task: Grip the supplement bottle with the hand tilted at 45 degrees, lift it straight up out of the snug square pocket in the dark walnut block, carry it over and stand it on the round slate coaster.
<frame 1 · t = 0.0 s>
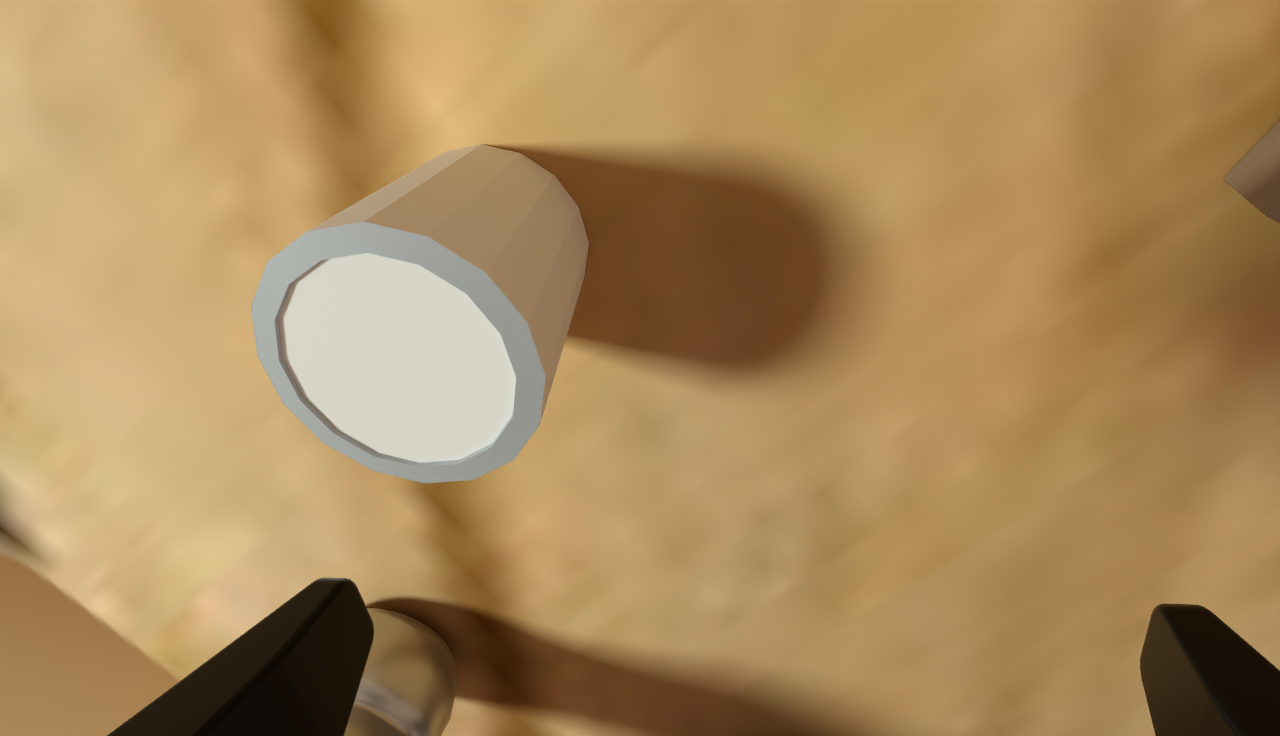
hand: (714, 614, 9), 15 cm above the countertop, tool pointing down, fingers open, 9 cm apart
shot glass: (497, 236, 24), on the countertop
plastic bottle: (401, 635, 35), on the countertop
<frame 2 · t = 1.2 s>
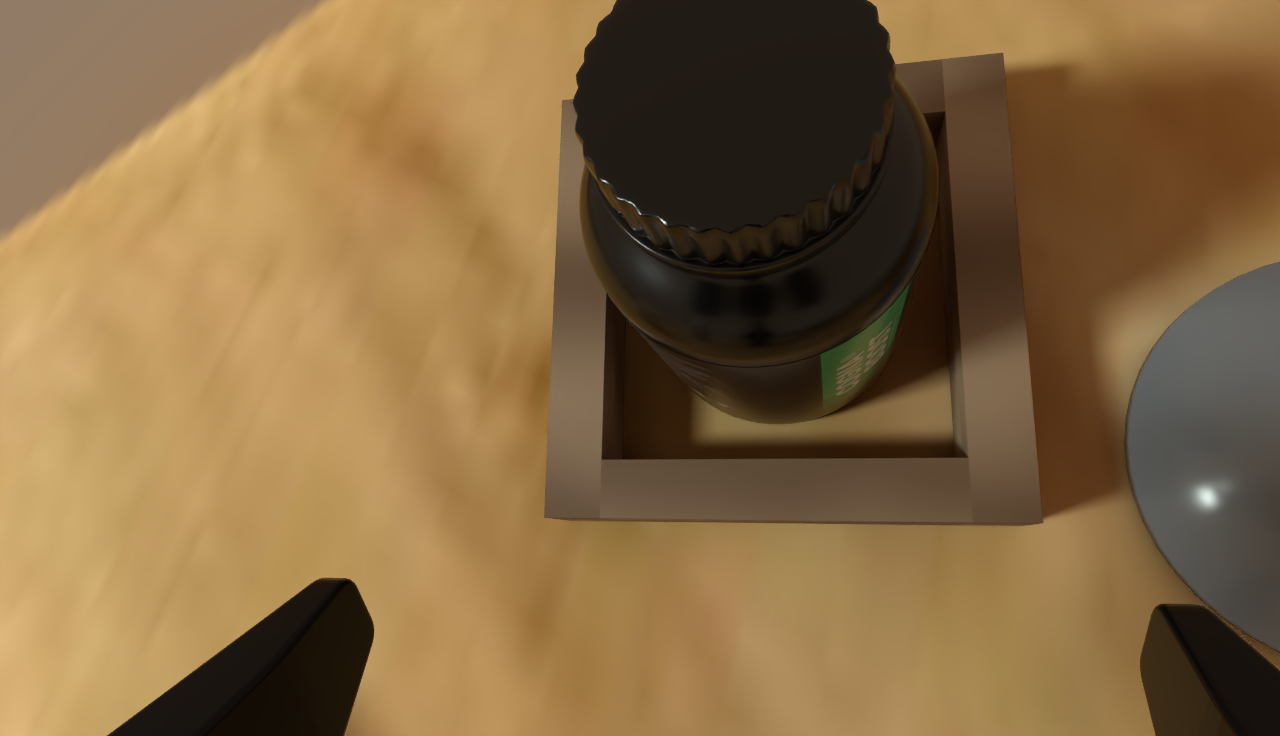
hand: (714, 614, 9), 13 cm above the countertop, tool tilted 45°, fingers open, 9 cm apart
pocket block: (778, 309, 23), on the countertop
supplement bottle: (778, 311, 24), resting in pocket block
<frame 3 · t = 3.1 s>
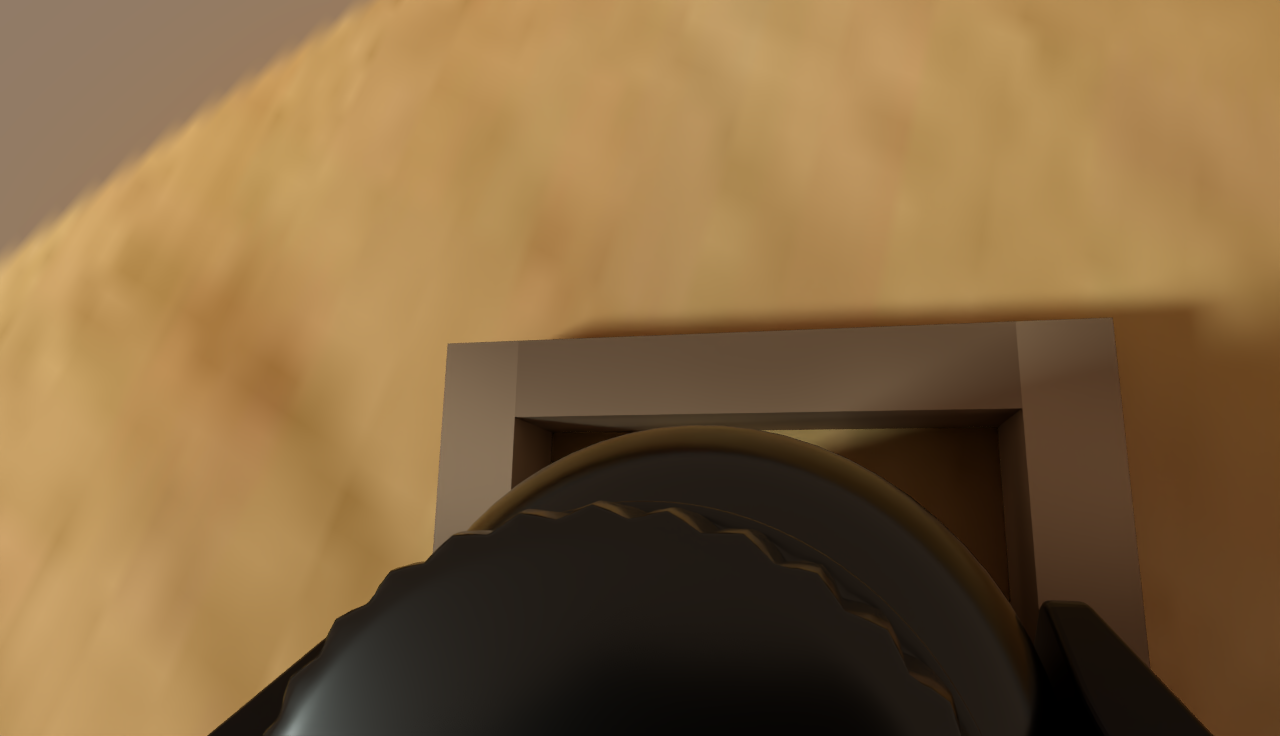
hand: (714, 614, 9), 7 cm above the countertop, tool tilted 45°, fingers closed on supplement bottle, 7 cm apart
pocket block: (764, 661, 16), on the countertop
supplement bottle: (765, 660, 16), resting in pocket block, touching gripper
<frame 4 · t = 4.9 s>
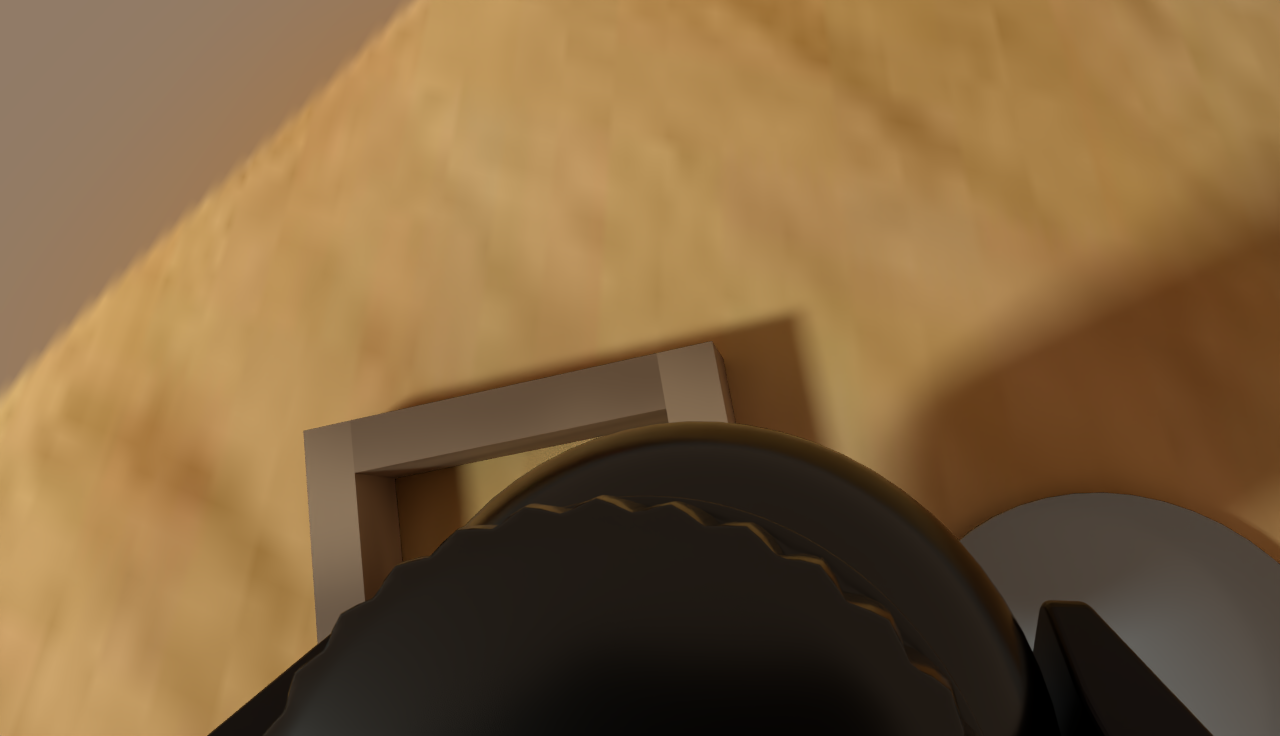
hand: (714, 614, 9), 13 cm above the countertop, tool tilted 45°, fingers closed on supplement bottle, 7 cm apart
pocket block: (554, 607, 23), on the countertop
slate coaster: (1112, 704, 20), on the countertop
supplement bottle: (756, 655, 16), point 6 cm above the countertop, touching gripper
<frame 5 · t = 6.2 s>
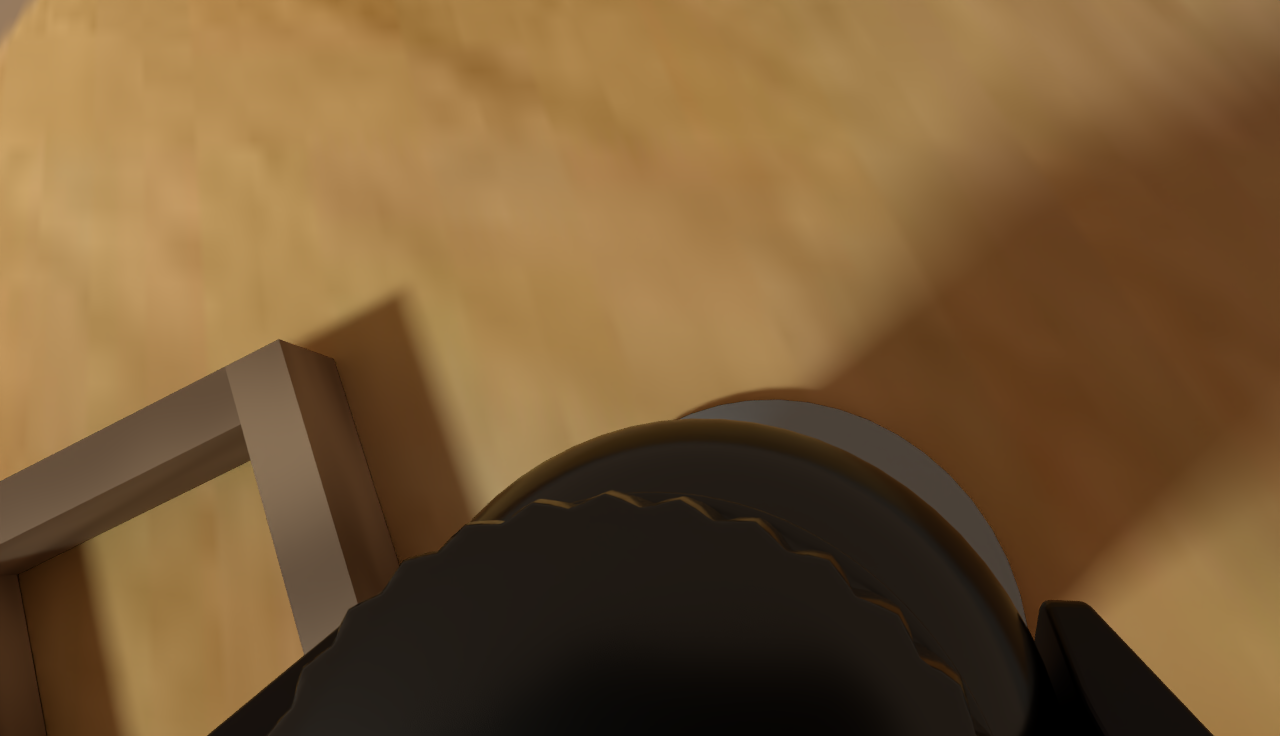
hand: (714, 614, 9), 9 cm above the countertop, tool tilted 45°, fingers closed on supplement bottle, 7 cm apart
pocket block: (194, 676, 20), on the countertop
slate coaster: (771, 635, 17), on the countertop
supplement bottle: (758, 654, 16), point 1 cm above the countertop, touching gripper
when the fingers open (8 cm above the countertop, at t = 6.8 s): supplement bottle stays where it is, resting on slate coaster.
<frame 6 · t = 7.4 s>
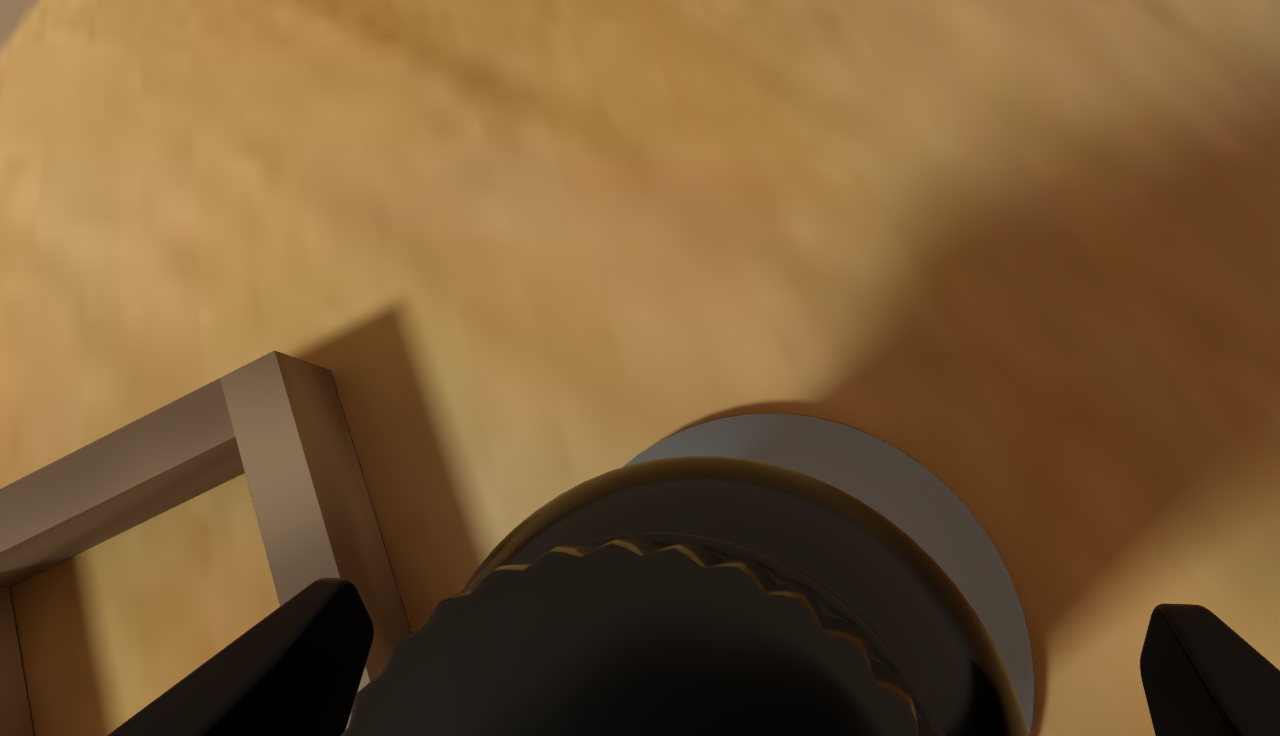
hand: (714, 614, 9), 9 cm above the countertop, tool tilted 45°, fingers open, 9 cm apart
pocket block: (187, 691, 20), on the countertop
slate coaster: (771, 652, 17), on the countertop
supplement bottle: (762, 662, 17), resting on slate coaster
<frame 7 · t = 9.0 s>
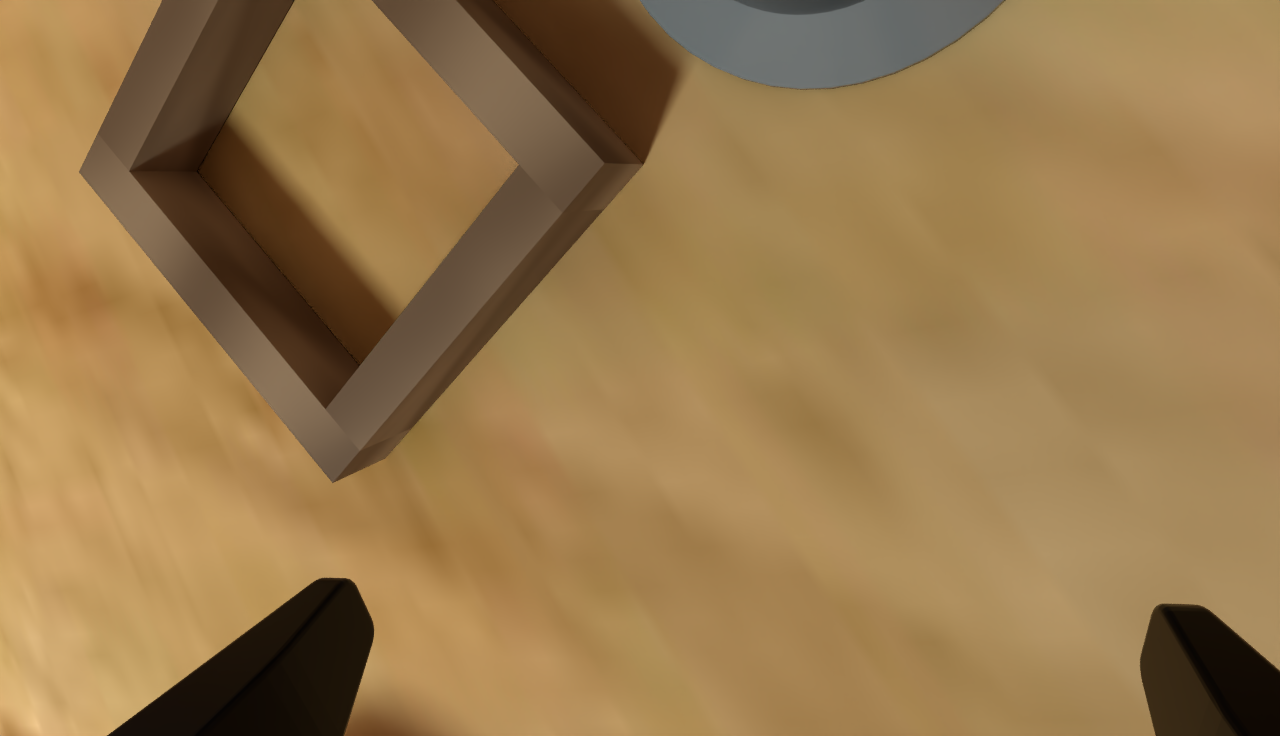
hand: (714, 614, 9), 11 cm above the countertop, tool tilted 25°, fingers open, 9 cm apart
pocket block: (361, 168, 23), on the countertop
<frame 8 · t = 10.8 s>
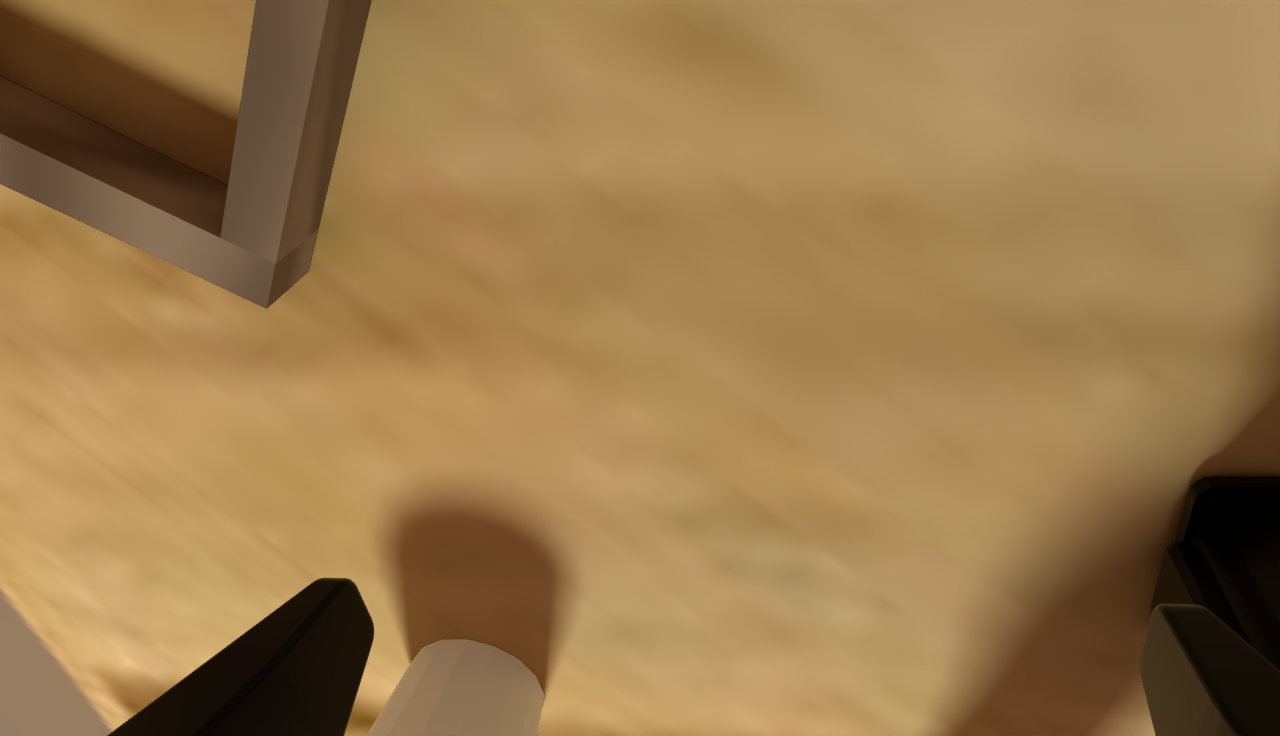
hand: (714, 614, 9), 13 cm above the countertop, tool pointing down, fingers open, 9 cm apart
shot glass: (479, 680, 34), on the countertop
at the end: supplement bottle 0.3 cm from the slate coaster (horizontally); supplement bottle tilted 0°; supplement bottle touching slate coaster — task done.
